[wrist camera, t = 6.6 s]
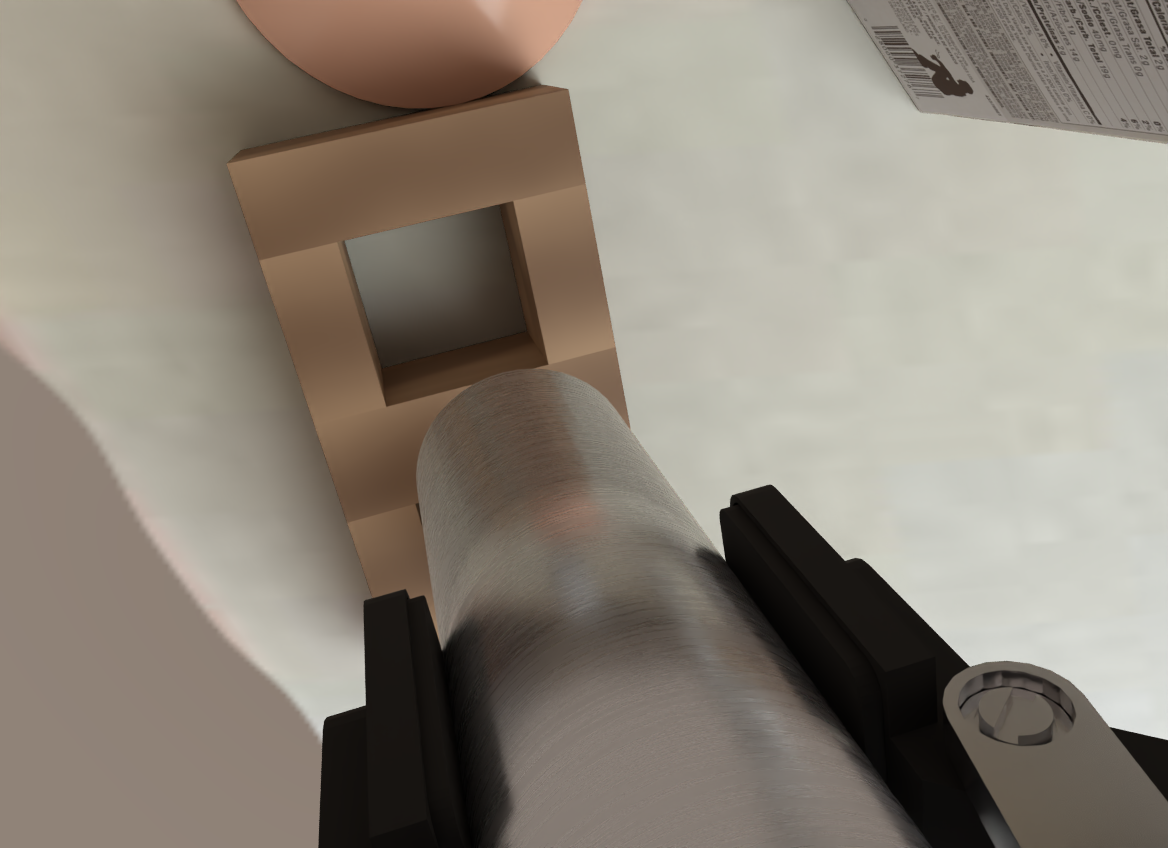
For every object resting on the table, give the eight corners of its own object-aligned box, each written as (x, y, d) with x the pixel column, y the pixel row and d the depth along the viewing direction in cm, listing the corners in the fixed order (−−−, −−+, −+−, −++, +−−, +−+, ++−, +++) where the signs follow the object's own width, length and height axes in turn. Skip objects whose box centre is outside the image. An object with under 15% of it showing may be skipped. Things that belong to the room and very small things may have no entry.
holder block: (241, 150, 30) (180, 207, 19) (542, 84, 31) (647, 102, 20) (405, 649, 38) (428, 890, 27) (638, 580, 39) (750, 781, 28)
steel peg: (389, 401, 16) (471, 1145, 5) (611, 344, 17) (1101, 911, 6) (446, 592, 18) (597, 1458, 7) (646, 534, 18) (1079, 1253, 7)
